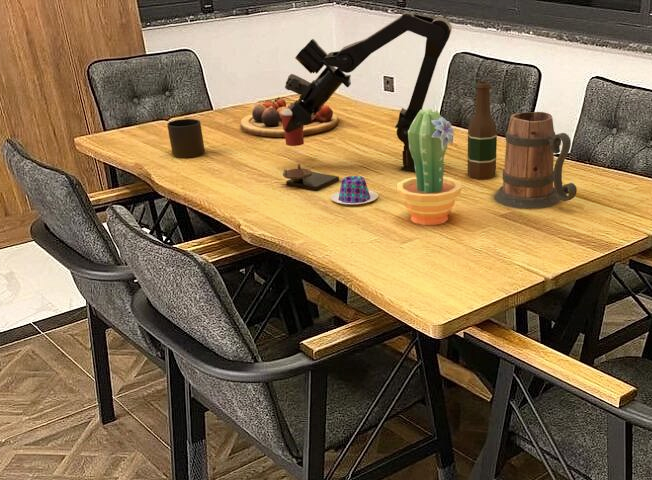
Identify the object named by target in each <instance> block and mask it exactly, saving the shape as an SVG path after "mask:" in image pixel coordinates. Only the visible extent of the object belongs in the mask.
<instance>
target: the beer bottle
mask: <svg viewBox="0 0 652 480" xmlns="http://www.w3.org/2000/svg"><path fill="white" fill-rule="evenodd" d="M475 87H476V97H475V98H476V99H475V110H474V114H473V116H472V118H471V119H470V120H469V124H468V125H467V127H468V129H467V175H468V176H469V178H471V179H475V180H489V179H490V180H491V178H494V177H495V176H496V173H497V146H498V143H497V142H498V131H497V129H498V128H497V125H496V124H497V123H496V122H495V120H494V118H493V116H492V114H491V99H490V89H491V83H489V82H488V81H478V82H477V83H476V85H475Z"/></svg>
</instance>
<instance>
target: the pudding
mask: <svg viewBox="0 0 652 480" xmlns="http://www.w3.org/2000/svg"><path fill="white" fill-rule="evenodd" d="M378 197H379V194H378V193H377V192H376V191H374V190H371V189H369V188H368V184H367V181H366V179H365V177H363V176H360V175H349V176H346V177H343V178H342V180H341V182H340V188H339V191H335V192H334V193H332V194H331V195H330V200H331V201H333V202H335V203H338V204H343V205H361V204H368V203H370V202H372V201H375V200H376V199H378Z"/></svg>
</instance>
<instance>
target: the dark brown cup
mask: <svg viewBox="0 0 652 480" xmlns="http://www.w3.org/2000/svg"><path fill="white" fill-rule="evenodd" d="M166 126H167V132H168V136H169V142H170V148H171V149H170V150H171V154H172V156H173V157H176V158H180V159H190V158H191V159H192V158H197V157H200V156H202V155H204V154H205V152H206V150H205V142H204V137H203V131H202V130H203V129H202V124H201V121H200V120H199V119H196V118H195V119H194V118H181V119H180V118H179V119H175V120H171V121H168V122H167V124H166Z"/></svg>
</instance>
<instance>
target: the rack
mask: <svg viewBox="0 0 652 480" xmlns="http://www.w3.org/2000/svg"><path fill="white" fill-rule="evenodd" d="M301 166H302V165H301V164H300V163H298V164H297V168H291V169H287V168H284V169H283V172H282V177H283V178H284V179H288V180H286V182H285V183H286V184H285V185H286V186H287V187H292V188H297V189H303V190H307V191H313V192H318V191H320V190H323V189H324V188H327V187H329V186H331V185H333V184H335V183H338V182H339V181H340V177H339V175H332V174H327V173H321V172H315V171H312V170H310V169H308V168H302V167H301Z"/></svg>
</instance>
